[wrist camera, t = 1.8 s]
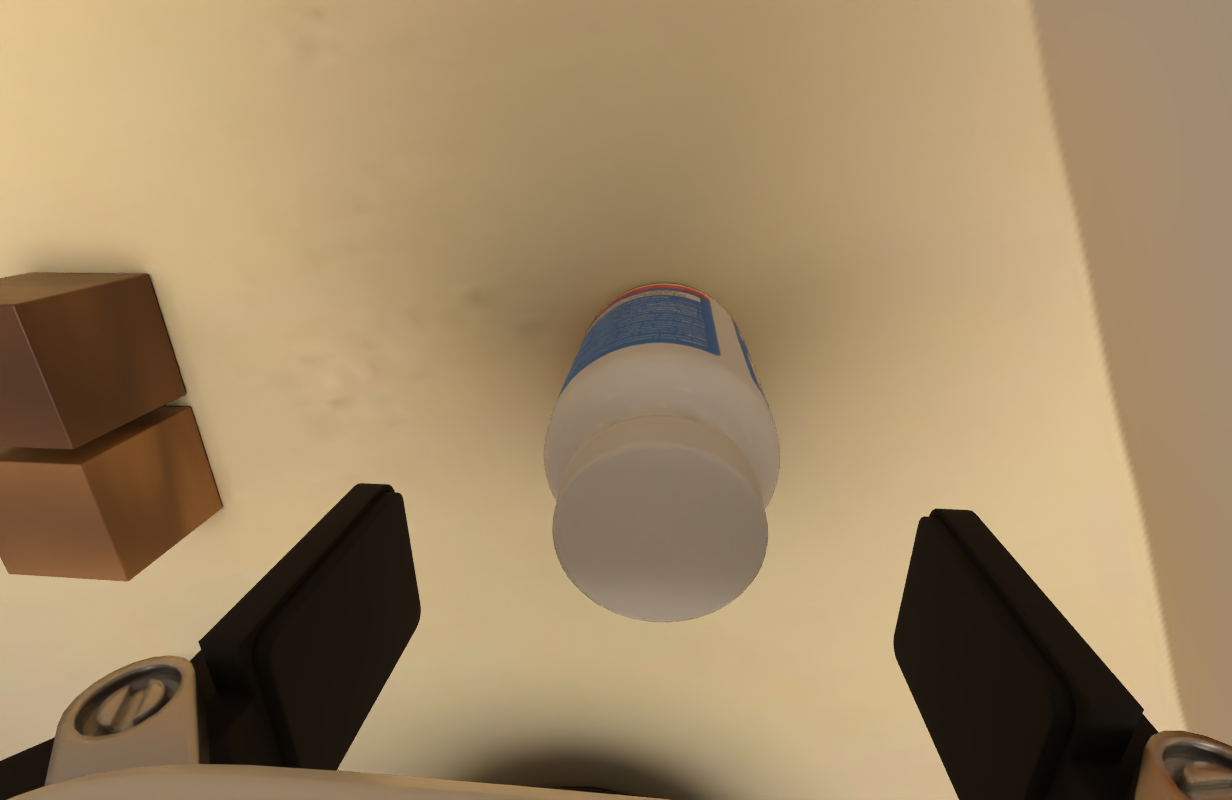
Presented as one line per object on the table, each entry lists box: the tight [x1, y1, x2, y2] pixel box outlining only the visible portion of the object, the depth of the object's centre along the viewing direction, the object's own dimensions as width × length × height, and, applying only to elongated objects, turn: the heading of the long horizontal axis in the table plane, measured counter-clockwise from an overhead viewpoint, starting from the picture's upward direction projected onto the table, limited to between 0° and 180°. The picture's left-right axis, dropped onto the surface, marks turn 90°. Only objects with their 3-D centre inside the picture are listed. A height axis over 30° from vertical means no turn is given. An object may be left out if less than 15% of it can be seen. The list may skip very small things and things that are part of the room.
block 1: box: [0, 273, 186, 449], centre depth 19 cm, size 4×4×4 cm
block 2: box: [0, 406, 222, 581], centre depth 21 cm, size 4×4×4 cm
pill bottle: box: [544, 283, 780, 622], centre depth 15 cm, size 6×5×10 cm
